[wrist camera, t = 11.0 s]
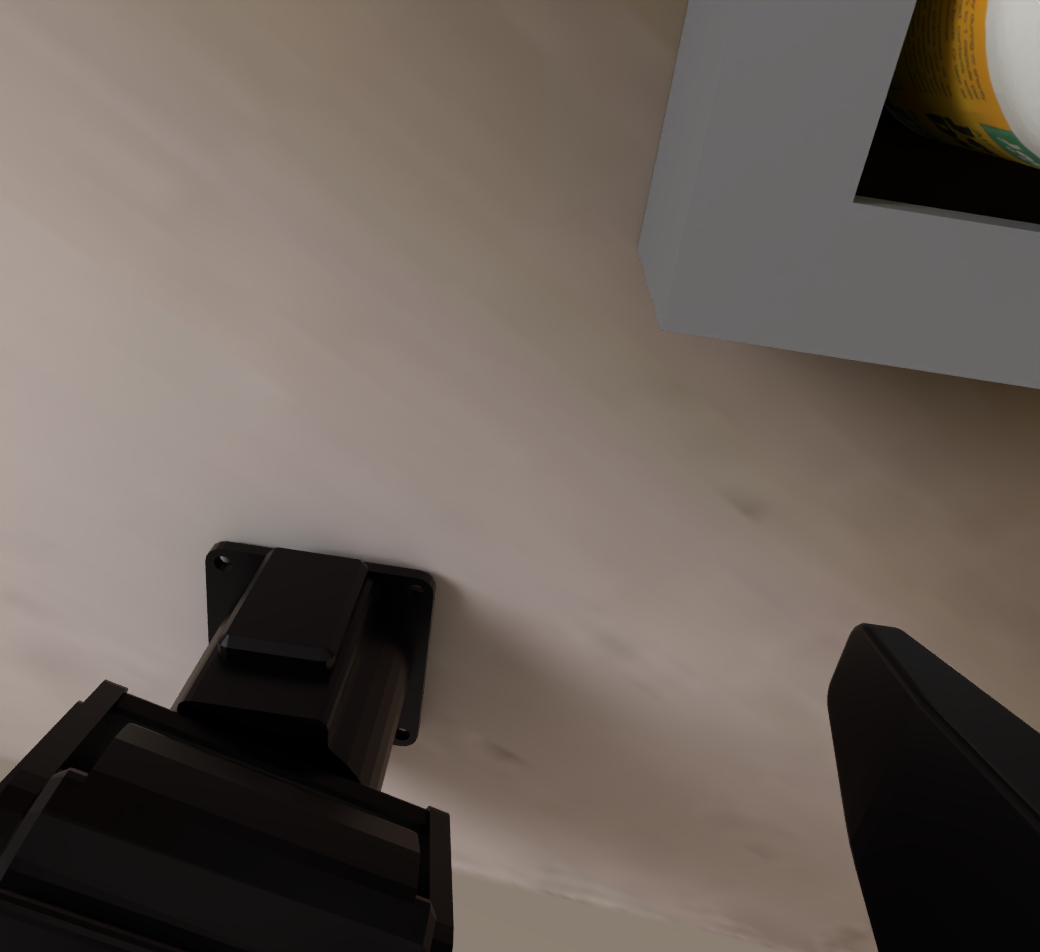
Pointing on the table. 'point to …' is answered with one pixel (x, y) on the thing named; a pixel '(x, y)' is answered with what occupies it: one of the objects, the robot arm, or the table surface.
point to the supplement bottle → (972, 76)
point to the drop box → (820, 205)
